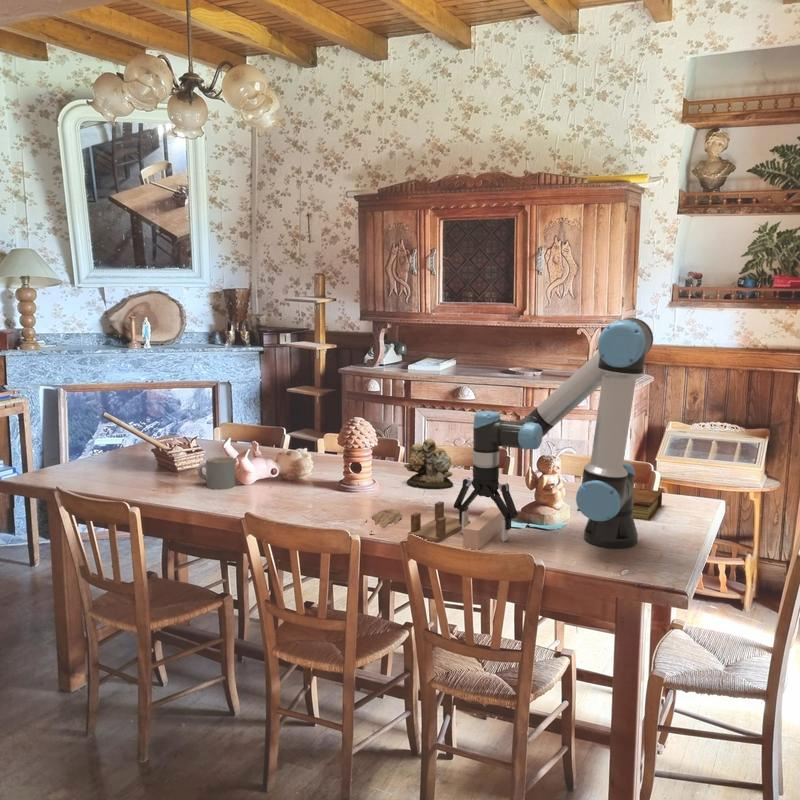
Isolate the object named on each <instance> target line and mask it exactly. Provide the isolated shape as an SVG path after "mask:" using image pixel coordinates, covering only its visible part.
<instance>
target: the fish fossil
mask: <svg viewBox="0 0 800 800" xmlns="http://www.w3.org/2000/svg"><path fill="white" fill-rule="evenodd" d="M376 512H377V513H376ZM376 512H374V513H375V514H374V513H372V514H373V516H372V517H371V516H370V517H371V518H372V520H374V521H375V525H377V524H379V525H380V527H382V529H383V528H385V527H386V526H387V525H388V524H392V523H395V524H397V523H398V522H399V521H400V520H401V519H402V513H401V511H400V510H399V509H398V508H387V509H381V510H379V511H376ZM386 528H387V527H386ZM386 528H385V529H386Z"/></svg>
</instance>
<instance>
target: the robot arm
mask: <svg viewBox="0 0 800 800" xmlns="http://www.w3.org/2000/svg"><path fill="white" fill-rule="evenodd" d="M653 344H654V335H653V331H652V328H651V327H650V326H649V324H648V323H647V322H645V321H644V320H642V319H640V318H635V317H628V318H623V319H618V320H615V321H612V322H611V323H609V324H608V325H606V326H605V327H604V328H603V330H602V331H601V333H600V334H599V337H598V339H597V352H596V353H595V354H594V355H593V356H592V357H591V358H590V359H588V360H587V361H586V363H584V364H583V365H582V366H581V367H580V368H579V369H578V370H576V371H575V372H574V373H573V374H572V375H571V376H569V378H568V379H566V380H565V381H564V382H563V383H562V384H561V385H560V386H559V387H557V389H555V390H554V391H553V392H552V393H551V394H550V395H549V396H547V398H545V399H544V400H543V401H541V403H540V404H539V405H537V406H536V408H534V409H533V410H532V411H531V412H530V413H528V414H527V416H525V417H522V418H521V419H519V420H517V421H516V420H515V421H514V420H503V419H501V414H500V413H499V412H498V411H493V410H491V411H490V410H483V411H482V410H480V411H478V412H475V414H474V416H473V417H474V418H473V427H472V429H473V430H472V431H473V436H472V437H473V442H472V443H473V445H472V446H473V448H472V449H473V451H472V463H473V466H472V479H471V478H470V477H466V478H463V480H462V487H461V489H460V491H459V493H458V495H457V497H456V499H455V502H454V503H453V508H454V509H457V510H458V511H459V512H460V515H458V519H459V520H460V521H461V522H462V530H461V534H463V528H465V527H466V526H467V525H468V521H469V509H468V510H465V509H467V507H468V508H469V506H470V505H471V503H473V501H474V500H475V499H476V498H477V497H478V496H479V497H484V498H485V497H486V498H490V499H491V500H492V501H493V502H494V504H495V506H496V507H498V508H499V510H500V511H501V513H502V515H503V516H504V519H502V530H501V541H502V542H506V541H507V540H509V531H510V530H511V528H512V519H514V518H517V517H518V516H519V513H518V510H517V508H516V505H515V503H514V501H513V498H512V495H511V492H510V485H509V483H505V484H504V483H503V484H501V483H500V482H499V479H500V474H499V473H500V467H499V464H500V447H505V448H511V449H513V448H514V449H521V450H538V449H539V448H540V446H541V444H542V442H543V438H544V436H545V437H546V435H547V434H548V433H549V432H550V430H552V429H553V428H554V427H555V426H556V425H557V424H558V423H560V421H562V420H563V419H564V418H565V417H566V416H567V415H568V414H570V413H571V412H572V411H573V410H574V409H576V408H577V407H578V406H579V405H580V404H581V403H582V402H583V401H585V400H586V399H587V398H588V397H590V395H592V394H593V393H594V392H595V391H596V390H597V389H599V388H600V391H599V392H600V393H599V400H598V406H597V415H596V422H595V429H594V433H593V434H594V435H593V441H592V442H593V443H592V448H591V449H592V450H591V455H590V456H591V457H590V461H588V463H586V464H585V465H584V466H583V472H582V478H581V485H579V487H578V489H577V491H576V494H575V495H576V497H575V502H576V506H577V509H578V508H579V510H580V511H579V512H581V514H582V515H583V516H585V517H586V518H587V519H588V520H587V522H586V525H585V527H584V531H583V539H584V540H585V541H586V542H587V543H589V544H590V545H594V546H597V547H603V548H612V549H623V548H624V549H625V548H630V547H633V546H636V545H637V544H638V541H639V540H638V539H639V533H638V531H637V527H636V523H635V519H633V515H632V513H633V492H634V488H635V476H636V473H635V467H634V466H633V464H631V463H629V462H625V454H626V447H627V441H628V434H629V429H630V422H631V421H630V420H631V415H632V408H633V401H634V395H635V388H636V382H637V379H638V378H639V377H641V376H642V375H643V374H644V369H645V363H646V362H645V361H646V356H647V354H648V353H650V351H651V349H652V347H653ZM470 486H472V487H473V490H472V492H471V493H470V494H469V496H468V497H467V498H466V496H467V494H468V491H469V489H470ZM498 490H499V491H500V492H501V494H500V492H499V491H498ZM501 495H502V497H501ZM465 498H466V500H465V501H464V499H465ZM502 498H503V499H502ZM459 512H458V513H459ZM459 517H460V518H459Z"/></svg>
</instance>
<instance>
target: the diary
mask: <svg viewBox="0 0 800 800" xmlns="http://www.w3.org/2000/svg"><path fill="white" fill-rule="evenodd" d="M662 503H663V491H661V490H652V489H646V488H645V489H644V488H638V487H634V492H633V513H632V515H633V519H634V520H640V521H647V522H650V521H651V519H652V518H653V517H654V516H655V514H656V513H657V512H658V511H659V510H658V509H660V508H661V507H662ZM576 511H577V512H581V511H580V510H579V508H578V507H577V510H576Z"/></svg>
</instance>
